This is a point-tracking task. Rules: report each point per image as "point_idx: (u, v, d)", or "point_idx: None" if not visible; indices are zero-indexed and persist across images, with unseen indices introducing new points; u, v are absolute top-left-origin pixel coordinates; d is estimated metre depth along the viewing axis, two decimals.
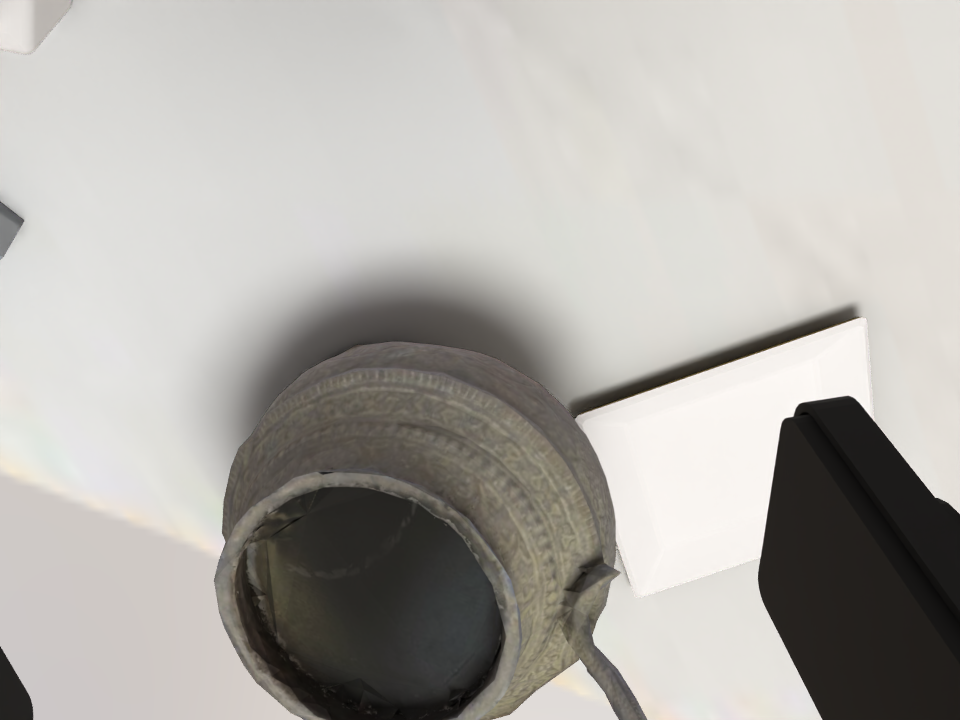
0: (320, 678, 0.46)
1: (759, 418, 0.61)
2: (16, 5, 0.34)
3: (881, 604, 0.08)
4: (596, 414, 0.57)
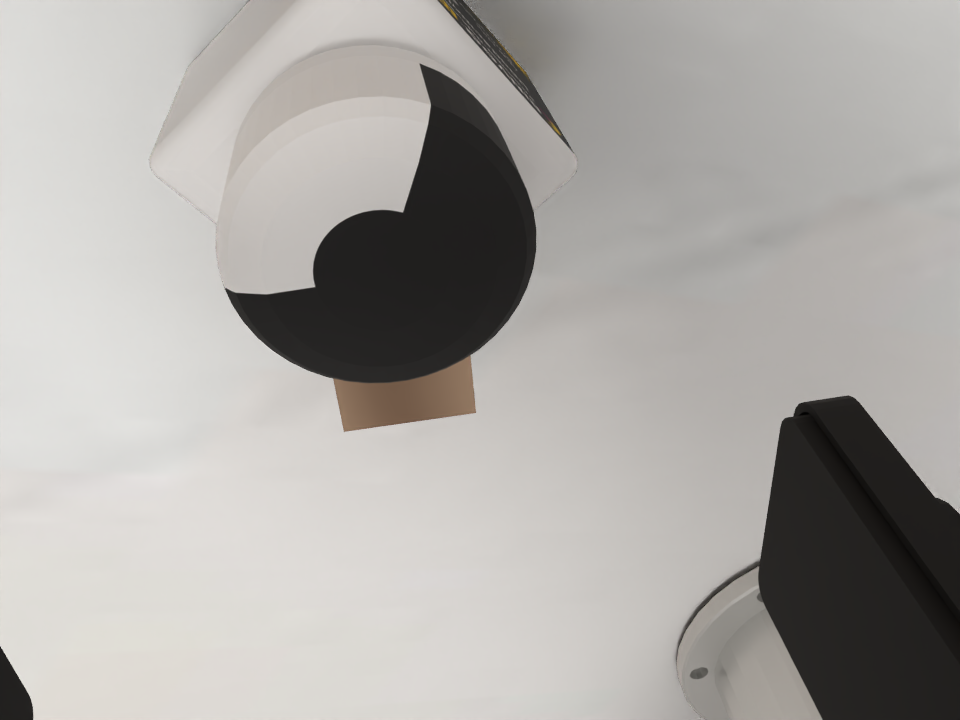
0: None
1: None
2: None
3: (881, 604, 0.08)
4: None
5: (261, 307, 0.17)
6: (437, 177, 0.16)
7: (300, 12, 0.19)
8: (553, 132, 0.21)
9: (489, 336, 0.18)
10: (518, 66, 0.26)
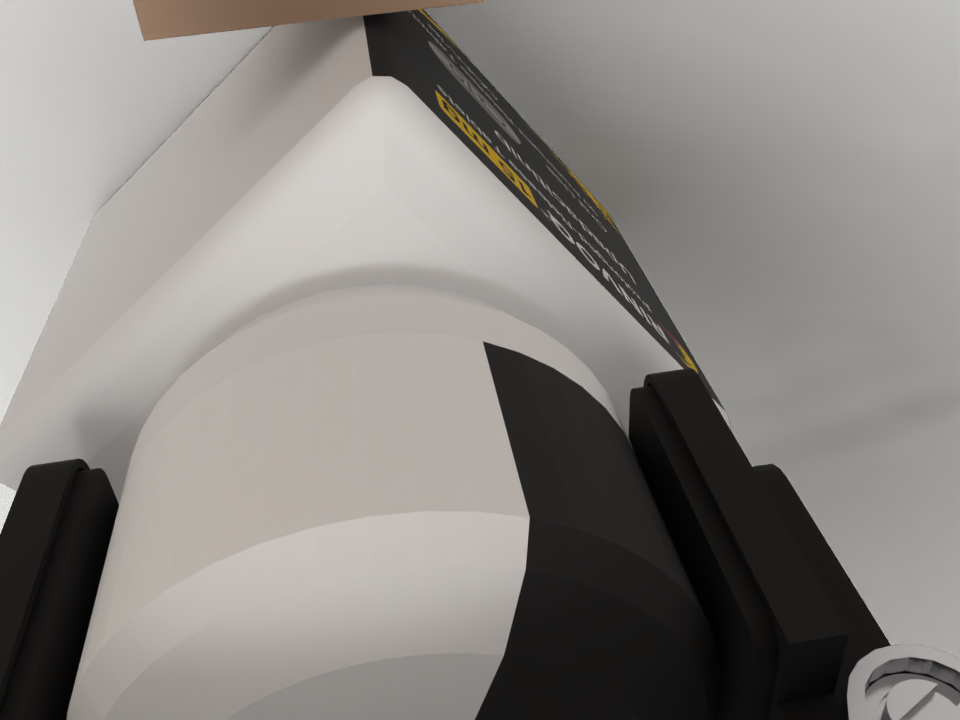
0: None
1: None
2: None
3: (694, 557, 0.09)
4: None
5: None
6: (542, 674, 0.07)
7: (249, 222, 0.10)
8: None
9: None
10: (599, 209, 0.17)
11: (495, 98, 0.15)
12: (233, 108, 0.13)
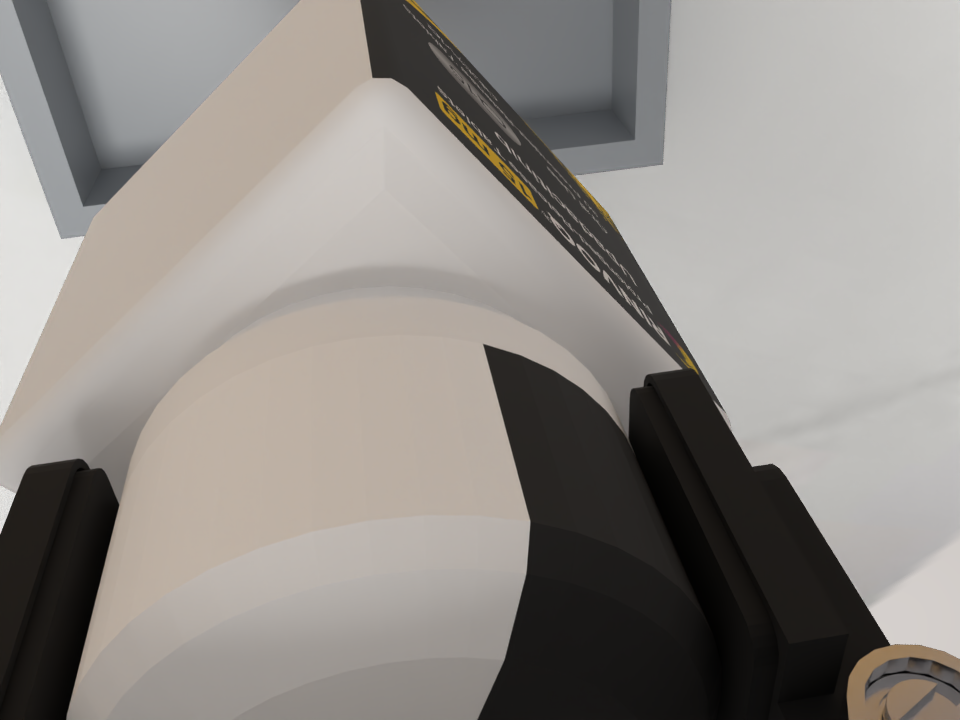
0: None
1: None
2: None
3: (694, 557, 0.09)
4: None
5: None
6: (542, 679, 0.07)
7: (250, 224, 0.10)
8: None
9: None
10: (600, 210, 0.17)
11: (495, 99, 0.15)
12: (233, 109, 0.13)
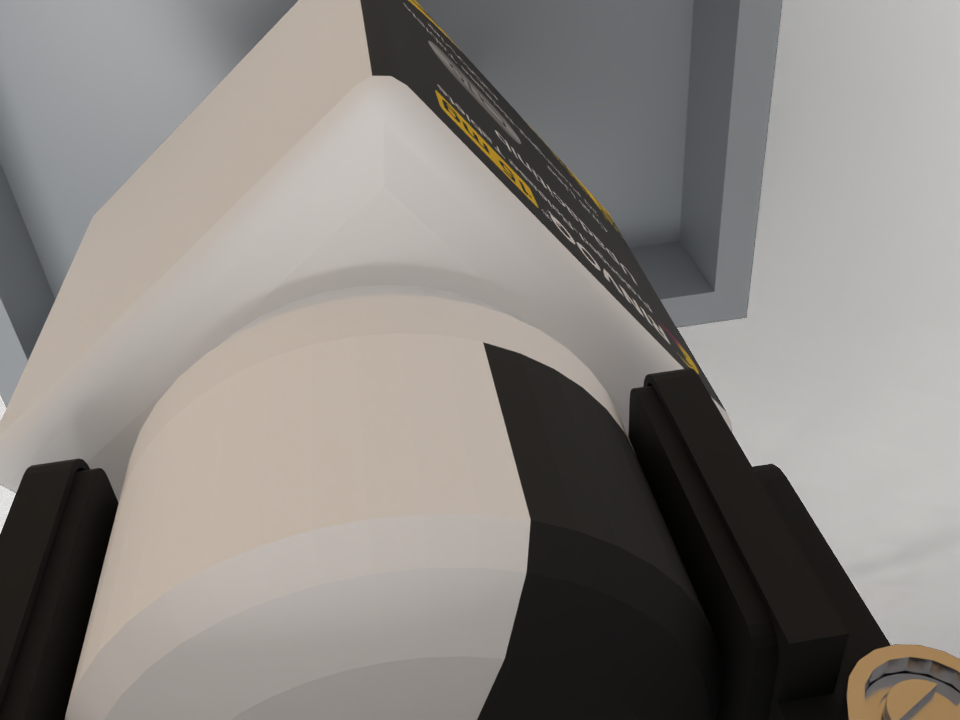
0: None
1: None
2: None
3: (694, 557, 0.09)
4: None
5: None
6: (542, 678, 0.07)
7: (249, 222, 0.10)
8: None
9: None
10: (600, 209, 0.17)
11: (495, 98, 0.15)
12: (232, 108, 0.13)
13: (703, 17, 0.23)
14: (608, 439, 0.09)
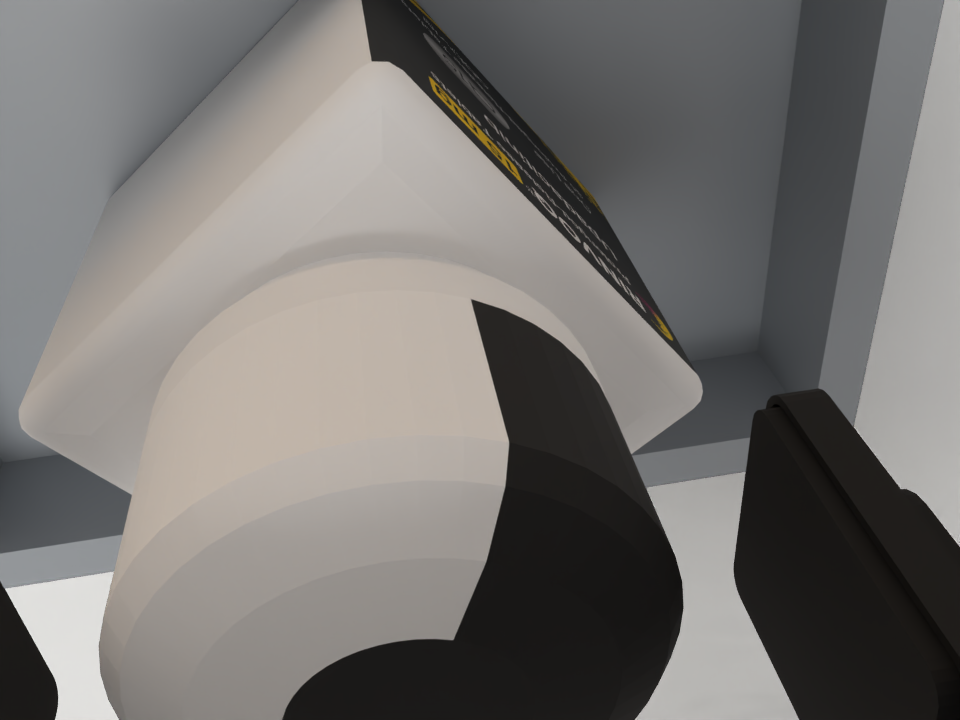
0: None
1: None
2: None
3: (846, 592, 0.09)
4: None
5: None
6: (521, 580, 0.08)
7: (260, 193, 0.11)
8: (669, 348, 0.13)
9: None
10: (585, 193, 0.18)
11: (486, 87, 0.16)
12: (242, 95, 0.14)
13: (808, 93, 0.18)
14: (582, 385, 0.10)
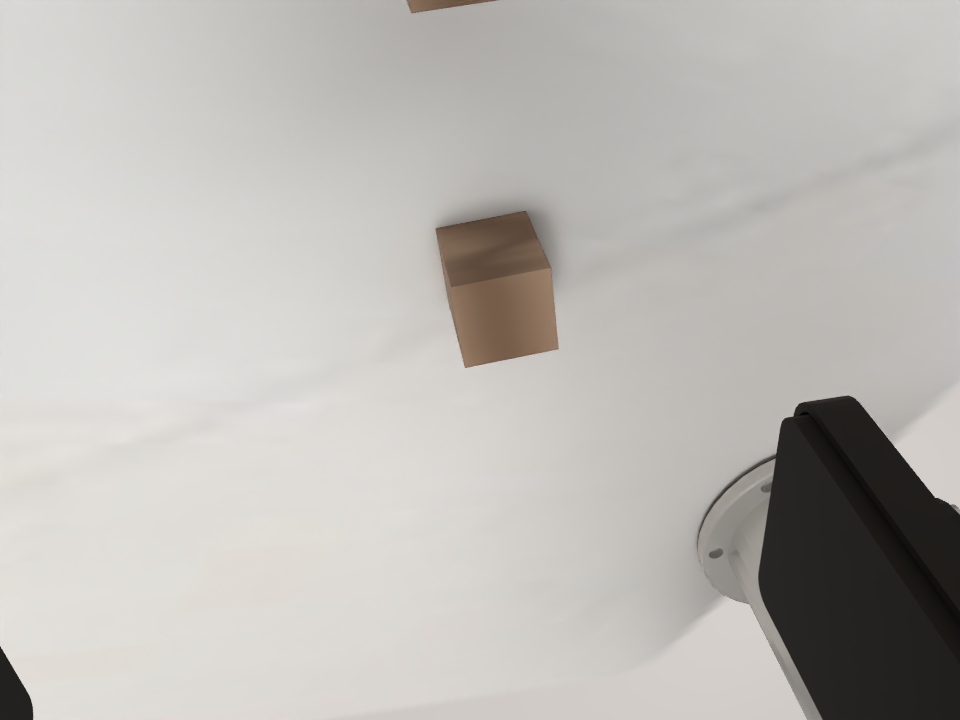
0: None
1: None
2: None
3: (881, 604, 0.08)
4: None
5: None
6: None
7: None
8: None
9: None
10: None
11: None
12: None
13: None
14: None
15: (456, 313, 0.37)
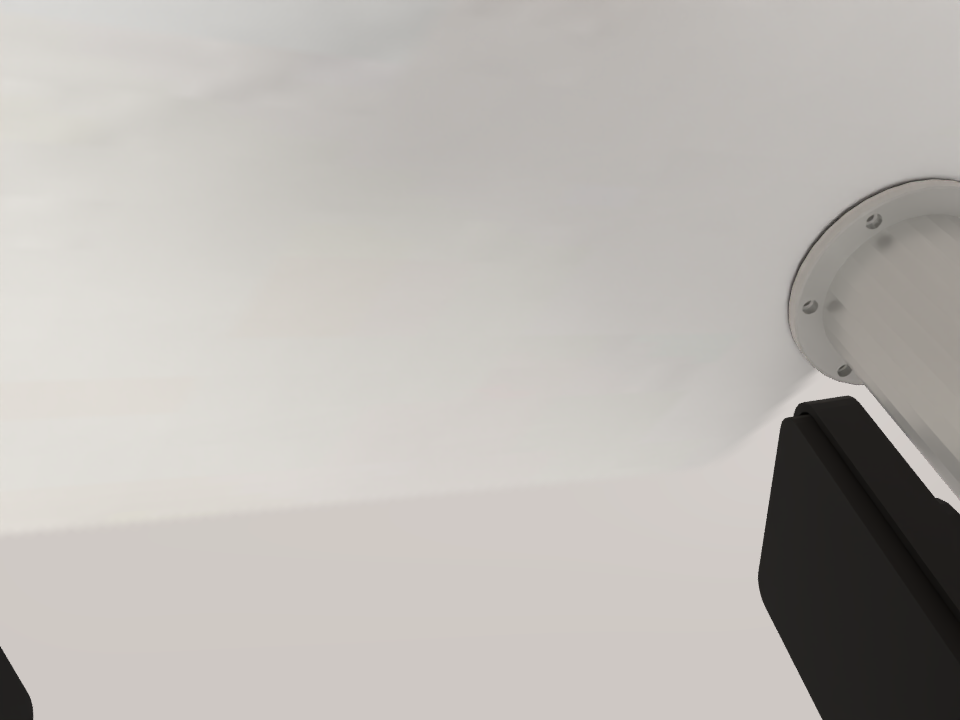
0: None
1: None
2: None
3: (881, 604, 0.08)
4: None
5: None
6: None
7: None
8: None
9: None
10: None
11: None
12: None
13: None
14: None
15: None
